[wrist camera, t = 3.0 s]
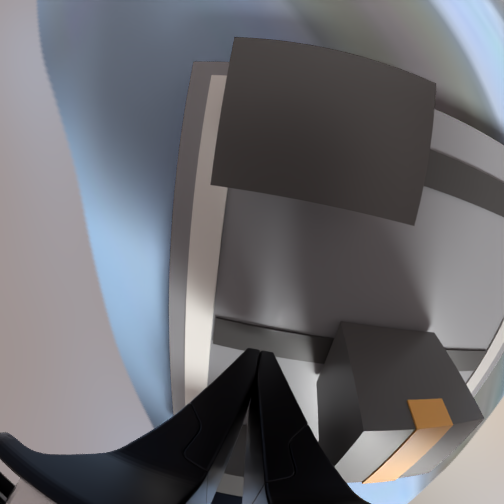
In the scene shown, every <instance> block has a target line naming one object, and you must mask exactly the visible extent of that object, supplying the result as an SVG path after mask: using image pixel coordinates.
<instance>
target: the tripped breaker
mask: <svg viewBox="0 0 504 504" xmlns="http://www.w3.org/2000/svg"><path fill="white" fill-rule="evenodd" d="M316 386H317V406H318V433H319V445H320V447H321V448H322V450H323V451H324V453H325V454H326V456H327V457H328V459H329V460H330V461H331V463H332V464H333V466H334V467H335V468H336V470H337V471H338V472H339V474H340V475H341V476H342V478H343V479H344V480H345V482H346V483H350V482H362V484H365V483H377V482H386V481H394V480H396V479H397V478H403V477H409V476H415V475H420V474H425V473H429V472H430V471H431V470H433V469H434V468H435V467H436V466H437V465H439V464H440V463H441V462H442V461H443V460H444V459H445V458H446V457H447V456H448V455H450V454H451V453H452V452H453V451H454V450H455V449H456V448H457V447H458V446H459V445H460V444H461V443H462V442H463V441H464V440H465V439H466V438H467V437H468V436H469V435H470V434H471V433H472V431H473V430H474V429H475V428H476V427H477V426H478V425H479V424H480V423H481V421H482V420H483V419H484V417H483V415H482V413H481V411H480V409H479V407H478V405H477V403H476V401H475V399H474V398H473V396H472V394H471V392H470V390H469V388H468V387H467V385H466V383H465V381H464V380H463V378H462V376H461V374H460V373H459V371H458V369H457V368H456V366H455V364H454V363H453V361H452V359H451V358H450V356H449V354H448V353H447V351H446V350H445V348H444V347H443V345H442V343H441V342H440V340H439V339H438V337H437V336H436V334H435V333H434V332H424V331H414V330H405V329H397V328H388V327H380V326H373V325H365V324H358V323H351V322H344V321H340V324H339V327H338V330H337V332H336V335H335V338H334V340H333V343H332V345H331V348H330V351H329V353H328V356H327V358H326V361H325V363H324V366H323V368H322V370H321V373H320V375H319V377H318V380H317V382H316Z"/></svg>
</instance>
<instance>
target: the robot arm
mask: <svg viewBox="0 0 504 504" xmlns="http://www.w3.org/2000/svg"><path fill="white" fill-rule="evenodd" d="M249 403H250V404H249ZM248 408H249V410H248ZM247 411H248V421H247V437H246V452H245V468H244V483H243V497H241V496H236V495H230V494H225V493H220V492H216V490H217V488H218V486H219V483H220V481H221V478H222V476H223V474H224V471H225V469H226V466H227V464H228V461H229V459H230V456H231V454H232V451H233V449H234V446H235V444H236V441H237V438H238V436H239V433H240V431H241V428H242V425H243V423H244V420H245V417H246V414H247ZM0 459H1V460H2V461H3V462H4V463H5V464H6V465H7V466H8V467H9V468H10V469H11V470H12V471H13V472H14V473H15V474H17V475H18V476H19V477H20V480H19V481H18V483H17V484H16V486H15V485H14V484H13V483H12V482H11V481H10V480H9V479H7V478H6V477H5V476H4V475H3V474H2V473H1V472H0V504H371V503H369V502H367V501H365V500H363V499H362V498H360V497H359V496H358V495H356V494H355V493H354V492H353V491H352V489H351V488H350V487H349V486H348V484H347V483H346V482H345V480H344V479H343V478H342V476H341V475H340V474H339V472H338V471H337V470H336V468H335V467H334V466H333V464H332V463H331V461H330V460H329V459H328V457H327V456H326V454H325V453H324V451H323V450H322V448H321V447H320V445H319V443H318V441H317V440H316V438H315V436H314V434H313V432H312V430H311V428H310V426H309V425H308V422H307V420H306V418H305V416H304V414H303V412H302V410H301V408H300V406H299V404H298V402H297V400H296V398H295V396H294V394H293V392H292V390H291V388H290V386H289V384H288V382H287V380H286V378H285V376H284V374H283V372H282V369H281V367H280V365H279V363H278V361H277V359H276V357H275V355H274V353H273V352H270V351H264V350H262V351H261V352H260V350H258V349H253V348H247V349H246V350H245V351H244V352H243V353H242V354H241V355H240V356H239V357H238V358H237V359H236V360H235V361H234V362H233V363H232V364H231V365H230V366H229V367H228V368H227V369H225V370H224V371H223V372H222V373H221V374H220V375H219V376H218V377H217V378H216V379H215V380H214V381H213V382H212V383H210V384H209V385H208V386H207V387H206V388H205V389H204V390H203V391H202V392H201V393H200V394H198V395H197V396H196V397H195V398H194V399H193V400H192V401H191V402H190V403H188V404H187V405H186V406H185V407H184V408H182V409H181V410H180V411H179V412H178V413H176V414H175V415H174V416H173V417H171V418H170V419H169V420H167V421H166V422H164V423H163V424H161V425H160V426H158V427H157V428H155V429H153V430H152V431H150V432H149V433H147V434H145V435H143V436H142V437H140V438H138V439H136V440H135V441H133V442H131V443H129V444H128V445H126V446H124V447H122V448H120V449H117V450H115V451H111V452H107V453H98V454H76V455H55V454H43V453H39V452H36V451H33V450H31V449H29V448H27V447H26V446H24V445H23V444H22V443H20V442H19V441H18V440H17V439H16V438H15V437H13V436H12V435H10V434H9V433H6V432H3V433H0Z"/></svg>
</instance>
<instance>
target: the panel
mask: <svg viewBox="0 0 504 504" xmlns="http://www.w3.org/2000/svg"><path fill="white" fill-rule="evenodd" d="M435 95H436V83H433V82H431V81H429V80H427V79H424V78H422V77H419V76H417V75H415V74H412V73H409V72H407V71H404V70H402V69H399V68H396V67H393V66H390V65H387V64H384V63H381V62H378V61H375V60H372V59H368V58H365V57H361V56H358V55H354V54H350V53H346V52H342V51H338V50H333V49H328V48H324V47H319V46H313V45H308V44H301V43H295V42H288V41H280V40H271V39H259V38H244V37H234V42H233V47H232V52H231V57H230V62H193V67H192V72H191V77H190V82H189V88H188V93H187V99H186V105H185V111H184V117H183V124H182V131H181V138H180V145H179V153H178V162H177V171H176V180H175V190H174V202H173V214H172V229H171V247H170V272H169V348H170V372H171V389H172V403H173V415H175V414H176V413H178V412H179V411H180V410H181V409H182V408H184V407H185V406H186V405H187V404H188V403H190V402H191V401H192V400H193V399H194V398H195V397H196V396H197V395H198V394H200V393H201V392H202V391H203V390H204V389H205V388H206V387H207V386H208V385H209V384H210V383H212V382H213V381H214V380H215V379H216V378H217V377H218V376H219V375H220V374H221V373H222V372H223V371H224V370H225V369H227V368H228V367H229V366H230V365H231V364H232V363H233V362H234V361H235V360H236V359H237V358H238V357H239V356H240V355H241V354H242V353H243V352H244V351H245V350H246V349H247V348H253V349H258V350H260V352H261V351H262V350H264V351H270V352H273V353H274V355H275V357H276V359H277V361H278V363H279V365H280V367H281V369H282V372H283V374H284V376H285V378H286V380H287V382H288V384H289V386H290V388H291V390H292V392H293V394H294V396H295V398H296V400H297V402H298V404H299V406H300V408H301V410H302V412H303V414H304V416H305V418H306V420H307V422H308V425H309V426H310V428H311V430H312V432H313V434H314V436H315V438H316V440H317V441H318V443H319V433H318V406H317V386H316V382H317V380H318V377H319V375H320V373H321V370H322V368H323V366H324V363H325V361H326V358H327V356H328V353H329V351H330V348H331V345H332V343H333V340H334V338H335V335H336V332H337V330H338V327H339V324H340V321H344V322H351V323H358V324H365V325H373V326H380V327H388V328H397V329H405V330H414V331H424V332H434V333H435V334H436V336H437V337H438V339H439V340H440V342H441V343H442V345H443V347H444V348H445V350H446V351H447V353H448V354H449V356H450V358H451V359H452V361H453V363H454V364H455V366H456V368H457V369H458V371H459V373H460V374H461V376H462V378H463V380H464V381H465V383H466V385H467V387H468V388H469V390H470V392H471V394H472V396H473V398H474V396H475V395H476V393H477V392H478V391H479V389H480V388H481V387H482V385H483V384H484V382H485V381H486V379H487V378H488V376H489V375H490V373H491V372H492V370H493V369H494V367H495V366H496V364H497V362H498V361H499V359H500V357H501V356H502V354H503V352H504V145H502V144H501V143H499V142H497V141H496V140H494V139H493V138H491V137H489V136H487V135H486V134H484V133H482V132H480V131H479V130H477V129H475V128H473V127H471V126H469V125H467V124H465V123H463V122H461V121H459V120H457V119H455V118H453V117H451V116H449V115H447V114H445V113H443V112H440V111H438V110H436V109H435ZM249 404H250V403H249ZM248 410H249V408H248ZM247 421H248V411H247V414H246V417H245V420H244V423H243V425H242V428H241V431H240V433H239V436H238V438H237V441H236V444H235V446H234V449H233V451H232V454H231V456H230V459H229V461H228V464H227V466H226V469H225V471H224V474H223V476H222V478H221V481H220V483H219V486H218V488H217V490H216V492H220V493H225V494H230V495H236V496H241V497H243V483H244V468H245V452H246V437H247Z"/></svg>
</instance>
